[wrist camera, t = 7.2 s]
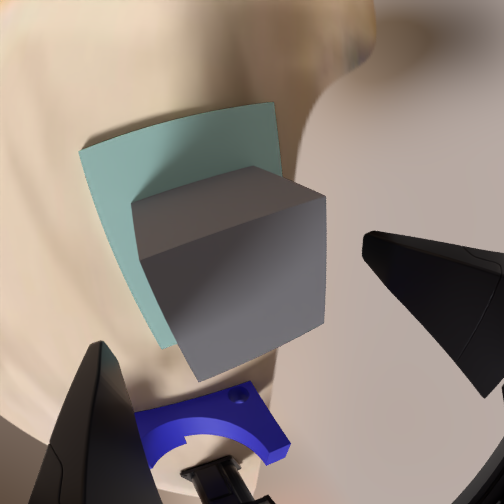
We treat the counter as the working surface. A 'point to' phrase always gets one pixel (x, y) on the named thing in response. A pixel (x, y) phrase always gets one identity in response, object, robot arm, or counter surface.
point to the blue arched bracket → (214, 423)
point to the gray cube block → (234, 264)
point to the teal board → (171, 177)
